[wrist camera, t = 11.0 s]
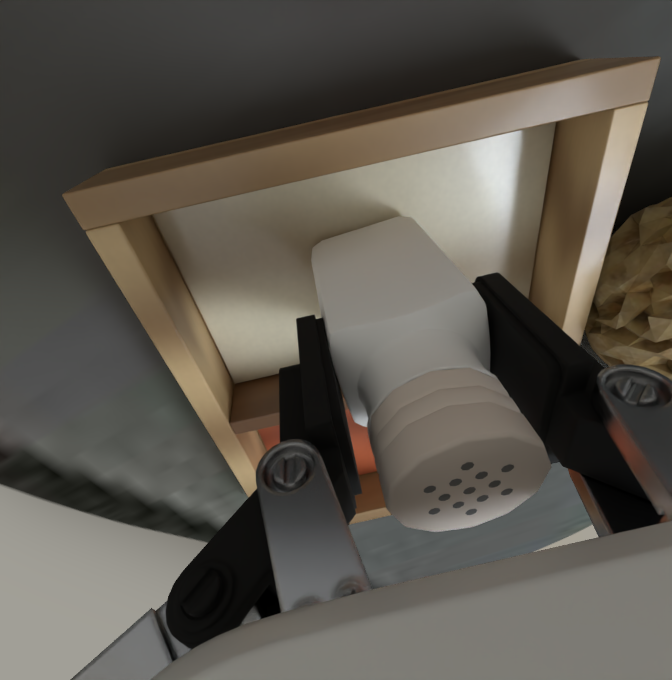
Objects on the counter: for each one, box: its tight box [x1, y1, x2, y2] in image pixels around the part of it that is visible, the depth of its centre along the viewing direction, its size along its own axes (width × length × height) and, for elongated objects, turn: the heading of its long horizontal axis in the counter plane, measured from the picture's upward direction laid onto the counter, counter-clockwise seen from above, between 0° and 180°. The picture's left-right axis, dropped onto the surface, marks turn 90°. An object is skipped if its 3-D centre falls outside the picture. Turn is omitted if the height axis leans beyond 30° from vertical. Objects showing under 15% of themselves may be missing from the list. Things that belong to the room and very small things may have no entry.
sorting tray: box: [62, 56, 661, 524], centre depth 17 cm, size 20×16×3 cm
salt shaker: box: [311, 216, 551, 532], centre depth 11 cm, size 4×4×10 cm
